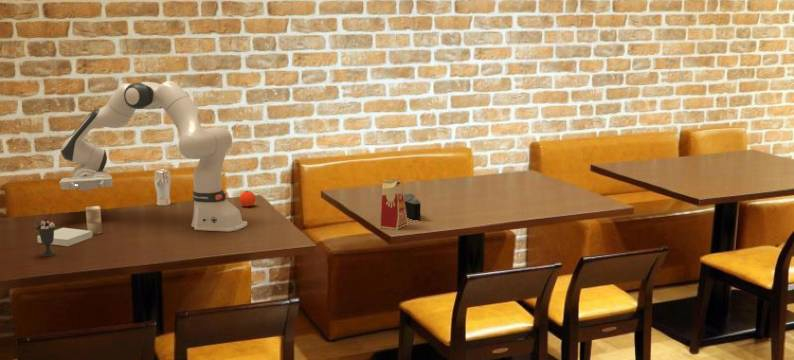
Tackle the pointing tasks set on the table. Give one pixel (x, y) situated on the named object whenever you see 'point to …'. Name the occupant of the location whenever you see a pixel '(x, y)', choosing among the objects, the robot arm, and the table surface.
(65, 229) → the trivet
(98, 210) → the beech block
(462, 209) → the table surface
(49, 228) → the sundae
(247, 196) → the clementine
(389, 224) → the milk carton
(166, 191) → the beer glass
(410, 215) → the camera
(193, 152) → the robot arm
